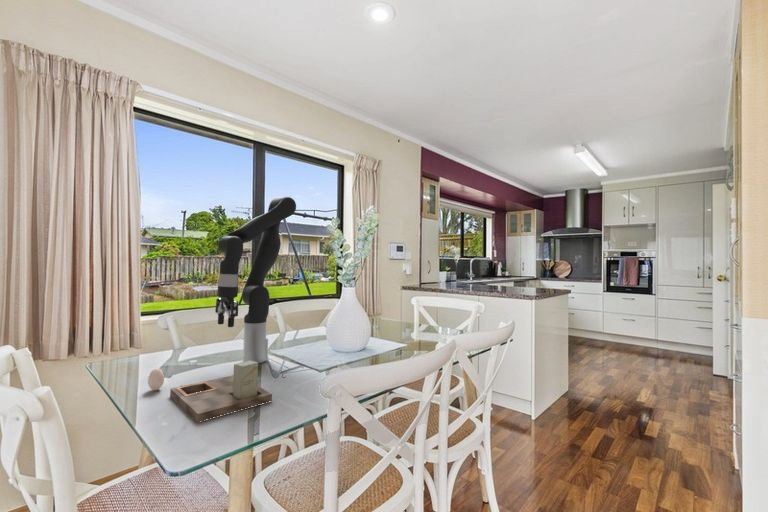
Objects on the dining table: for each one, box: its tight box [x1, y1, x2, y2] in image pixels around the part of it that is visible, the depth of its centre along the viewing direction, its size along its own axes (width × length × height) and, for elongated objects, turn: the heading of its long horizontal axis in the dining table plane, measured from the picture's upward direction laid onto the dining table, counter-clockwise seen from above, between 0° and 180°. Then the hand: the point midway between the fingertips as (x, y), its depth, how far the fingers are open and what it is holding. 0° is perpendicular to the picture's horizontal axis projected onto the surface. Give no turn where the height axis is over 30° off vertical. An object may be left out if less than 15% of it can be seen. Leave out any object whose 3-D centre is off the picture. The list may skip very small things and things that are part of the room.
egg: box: [147, 367, 165, 391], centre depth 124 cm, size 5×5×7 cm
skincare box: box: [233, 360, 259, 400], centre depth 116 cm, size 6×4×12 cm
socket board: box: [169, 374, 273, 423], centre depth 118 cm, size 22×26×3 cm
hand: (225, 325), depth 148 cm, fingers open, 8 cm apart
